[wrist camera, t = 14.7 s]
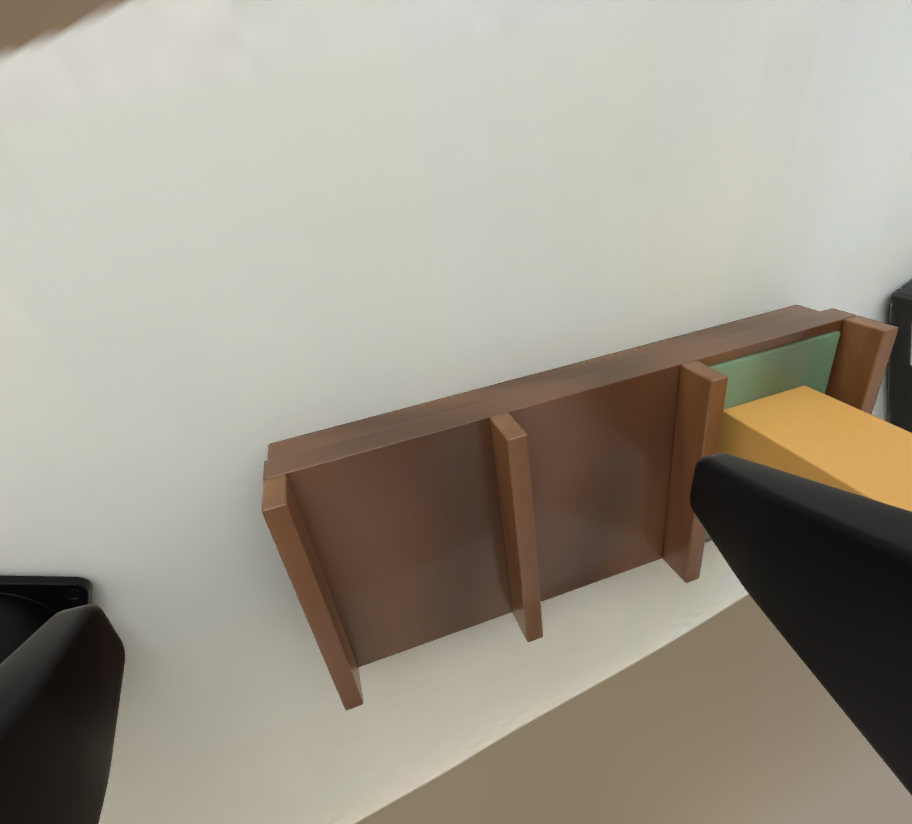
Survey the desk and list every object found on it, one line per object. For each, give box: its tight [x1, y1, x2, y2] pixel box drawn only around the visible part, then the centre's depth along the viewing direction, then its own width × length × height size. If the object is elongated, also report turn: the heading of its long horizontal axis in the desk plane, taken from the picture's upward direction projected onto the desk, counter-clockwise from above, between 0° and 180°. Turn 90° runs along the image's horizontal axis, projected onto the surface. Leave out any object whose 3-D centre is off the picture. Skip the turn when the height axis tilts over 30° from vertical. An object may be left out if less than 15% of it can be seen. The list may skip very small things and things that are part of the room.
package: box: [717, 386, 912, 512], centre depth 18 cm, size 4×6×13 cm
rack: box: [262, 305, 898, 710], centre depth 23 cm, size 26×11×5 cm, turn 98°
